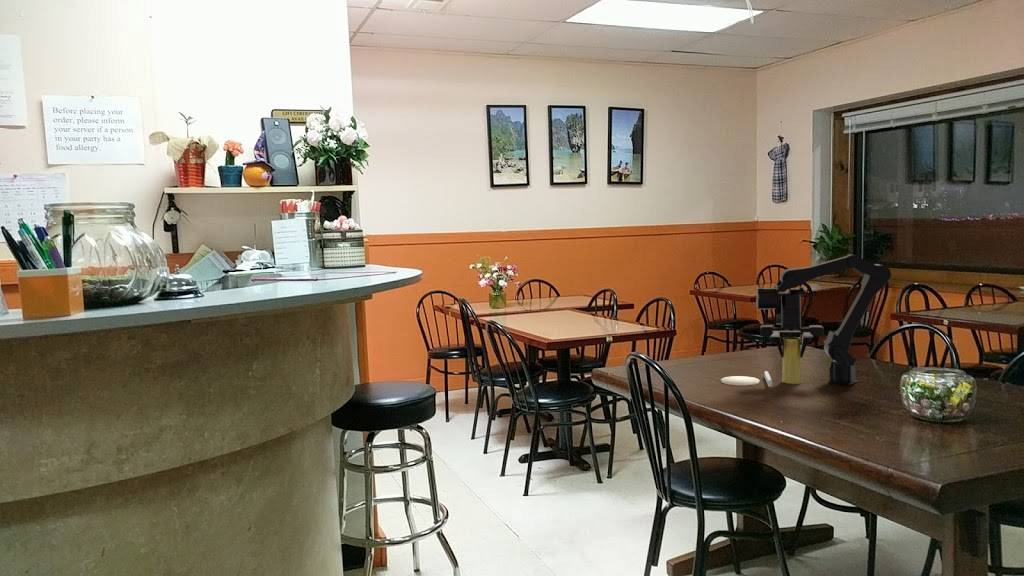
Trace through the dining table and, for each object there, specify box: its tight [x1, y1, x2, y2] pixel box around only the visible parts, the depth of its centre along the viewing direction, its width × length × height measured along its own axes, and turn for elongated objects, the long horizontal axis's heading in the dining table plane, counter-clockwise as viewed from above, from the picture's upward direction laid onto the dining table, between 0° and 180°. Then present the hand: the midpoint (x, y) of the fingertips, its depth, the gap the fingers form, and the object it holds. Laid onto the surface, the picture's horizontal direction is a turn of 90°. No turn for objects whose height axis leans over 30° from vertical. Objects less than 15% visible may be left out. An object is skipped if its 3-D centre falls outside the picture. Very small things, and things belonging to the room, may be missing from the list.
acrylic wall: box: [764, 370, 773, 388], centre depth 223 cm, size 14×1×2 cm, turn 165°
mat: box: [720, 375, 760, 387], centre depth 226 cm, size 12×12×1 cm
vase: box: [781, 336, 803, 385], centre depth 221 cm, size 6×6×14 cm
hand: (791, 357), depth 221 cm, fingers closed on vase, 5 cm apart
